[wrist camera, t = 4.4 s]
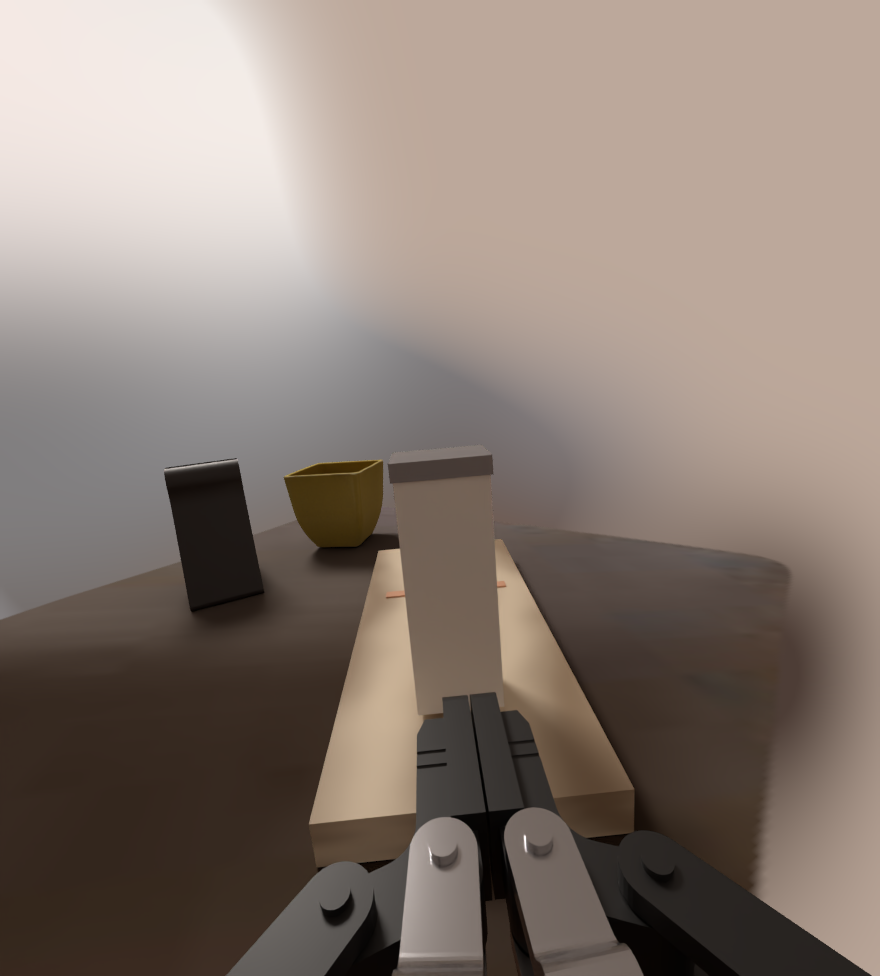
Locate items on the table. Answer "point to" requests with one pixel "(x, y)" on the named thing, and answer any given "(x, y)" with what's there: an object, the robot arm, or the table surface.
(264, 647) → the table surface
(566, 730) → the wooden slider board
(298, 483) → the flower pot
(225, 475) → the phone stand
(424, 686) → the fader knob
